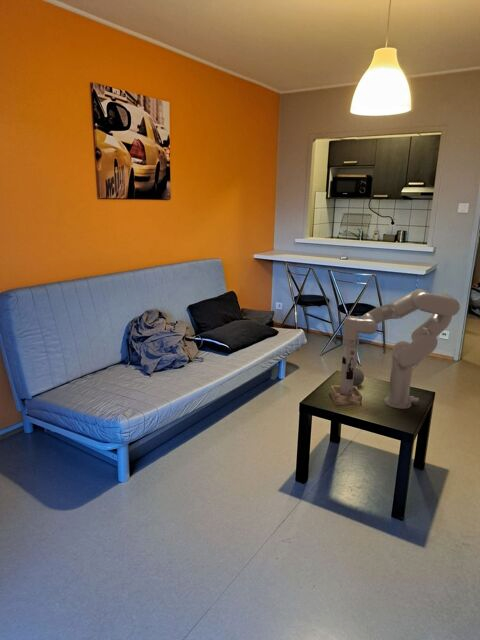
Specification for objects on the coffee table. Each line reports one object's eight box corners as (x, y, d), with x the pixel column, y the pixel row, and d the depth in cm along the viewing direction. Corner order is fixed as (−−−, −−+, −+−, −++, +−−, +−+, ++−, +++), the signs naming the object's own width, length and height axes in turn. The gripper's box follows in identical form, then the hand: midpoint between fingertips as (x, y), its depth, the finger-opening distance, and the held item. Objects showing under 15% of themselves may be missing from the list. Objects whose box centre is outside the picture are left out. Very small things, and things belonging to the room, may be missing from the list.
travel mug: (353, 397, 220) (356, 359, 215) (339, 396, 222) (342, 357, 217) (352, 392, 226) (356, 354, 221) (339, 391, 227) (342, 353, 222)
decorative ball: (351, 380, 249) (353, 363, 246) (366, 386, 241) (368, 369, 239) (340, 385, 243) (341, 367, 240) (355, 391, 235) (357, 373, 233)
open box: (355, 394, 231) (356, 386, 230) (361, 405, 218) (362, 396, 217) (330, 393, 231) (330, 385, 230) (334, 404, 218) (335, 396, 217)
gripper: (362, 347, 209) (359, 383, 213) (354, 336, 225) (351, 370, 230) (346, 347, 209) (343, 383, 213) (339, 336, 225) (336, 370, 230)
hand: (347, 376), depth 221 cm, fingers closed on travel mug, 6 cm apart
